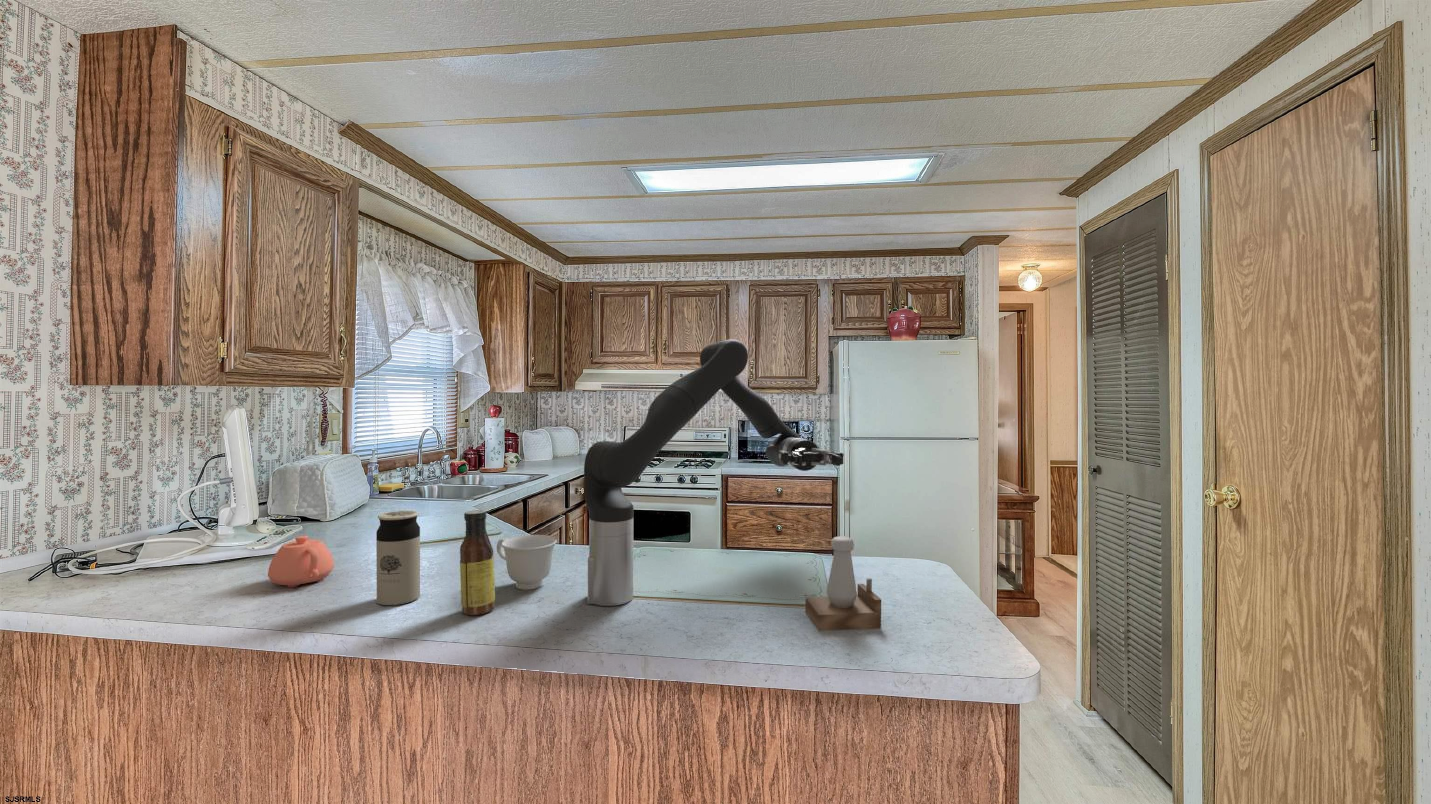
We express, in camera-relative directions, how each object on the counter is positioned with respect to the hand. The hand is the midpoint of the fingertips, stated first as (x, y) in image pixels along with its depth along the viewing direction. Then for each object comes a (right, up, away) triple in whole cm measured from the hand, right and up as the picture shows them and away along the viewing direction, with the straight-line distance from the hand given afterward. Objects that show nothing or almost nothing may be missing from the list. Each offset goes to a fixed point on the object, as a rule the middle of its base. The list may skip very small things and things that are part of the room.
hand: (819, 460), depth 126 cm
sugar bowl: (-117, -28, +5) cm, 120 cm away
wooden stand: (+2, -29, -15) cm, 33 cm away
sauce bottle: (-70, -29, -12) cm, 77 cm away
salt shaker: (+2, -27, -15) cm, 30 cm away
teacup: (-66, -29, +4) cm, 72 cm away
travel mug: (-89, -29, -6) cm, 94 cm away
